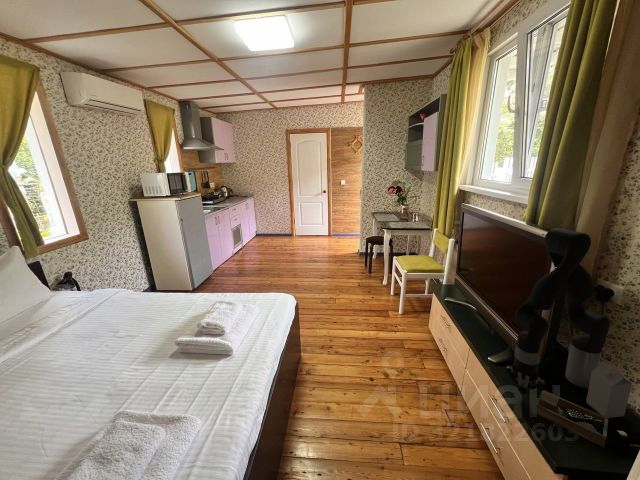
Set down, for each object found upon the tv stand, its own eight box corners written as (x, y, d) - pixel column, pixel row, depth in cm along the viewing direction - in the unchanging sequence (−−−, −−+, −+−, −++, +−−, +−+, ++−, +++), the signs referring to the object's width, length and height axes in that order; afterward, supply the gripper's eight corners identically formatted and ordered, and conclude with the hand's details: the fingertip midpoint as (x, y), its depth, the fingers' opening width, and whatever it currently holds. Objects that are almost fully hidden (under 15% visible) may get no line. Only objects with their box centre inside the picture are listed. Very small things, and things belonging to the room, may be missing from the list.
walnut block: (541, 398, 105) (542, 390, 104) (557, 406, 101) (558, 398, 100) (538, 406, 102) (539, 398, 101) (554, 414, 98) (556, 406, 97)
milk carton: (603, 400, 103) (612, 360, 98) (624, 416, 96) (634, 374, 92) (585, 402, 103) (593, 362, 98) (605, 418, 96) (614, 376, 92)
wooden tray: (542, 397, 107) (543, 390, 106) (606, 427, 94) (608, 418, 93) (536, 413, 101) (537, 405, 100) (604, 447, 87) (606, 438, 86)
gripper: (550, 360, 100) (545, 396, 105) (509, 345, 110) (506, 379, 115) (546, 371, 96) (541, 408, 100) (504, 354, 106) (500, 389, 110)
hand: (522, 392), depth 108 cm, fingers closed
